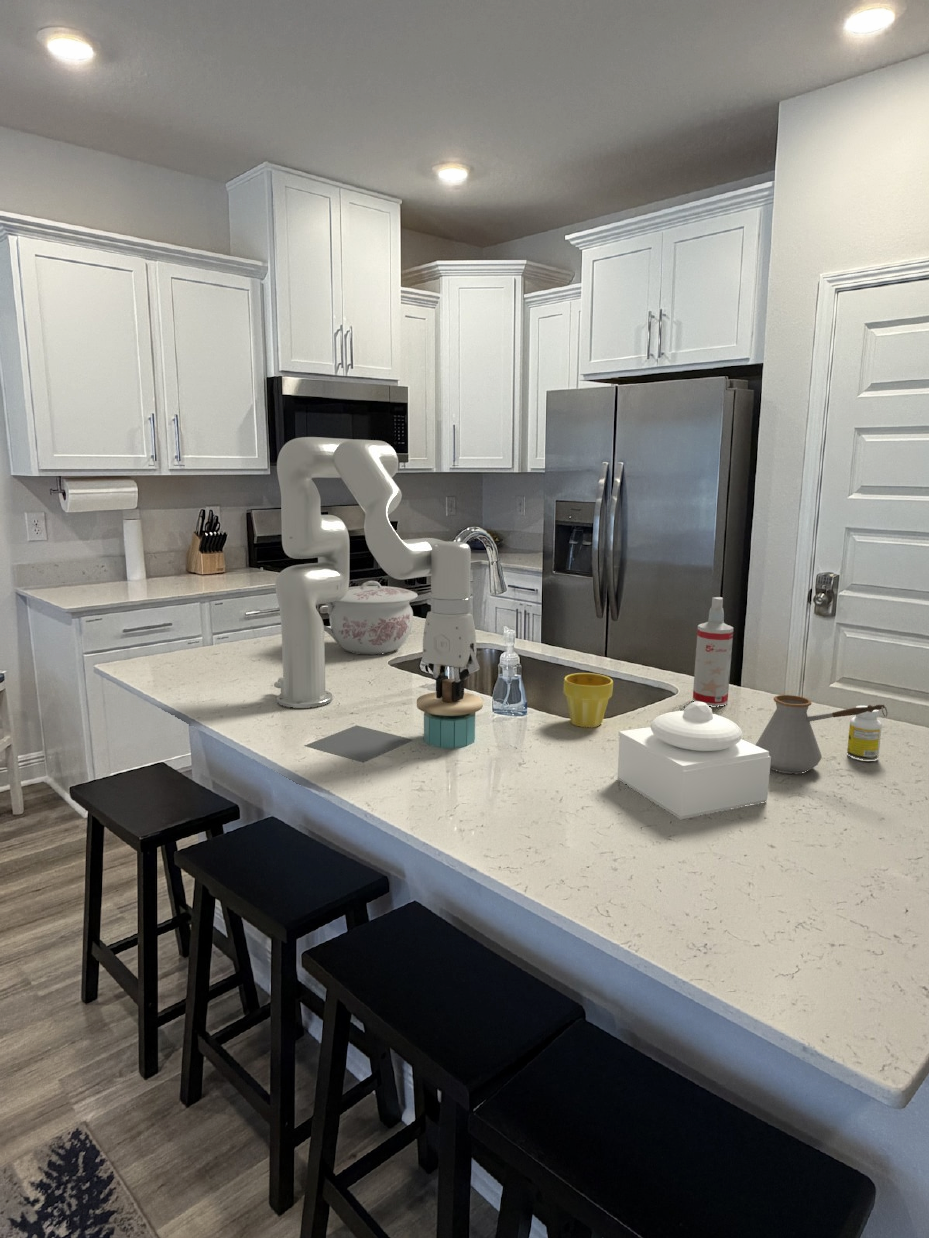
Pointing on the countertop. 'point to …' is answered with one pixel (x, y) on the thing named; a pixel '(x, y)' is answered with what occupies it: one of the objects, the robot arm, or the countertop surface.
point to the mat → (359, 743)
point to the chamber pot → (371, 618)
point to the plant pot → (587, 697)
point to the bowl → (449, 730)
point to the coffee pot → (797, 734)
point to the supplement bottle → (865, 735)
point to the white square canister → (693, 763)
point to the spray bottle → (713, 658)
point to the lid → (449, 702)
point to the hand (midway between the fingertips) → (449, 697)
